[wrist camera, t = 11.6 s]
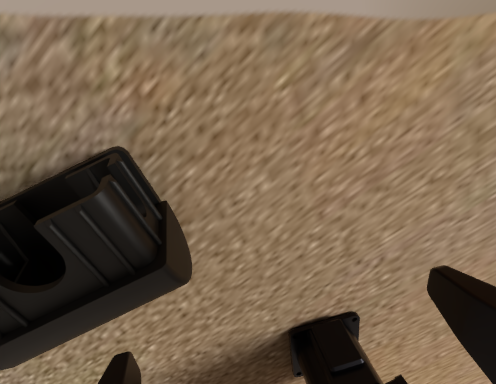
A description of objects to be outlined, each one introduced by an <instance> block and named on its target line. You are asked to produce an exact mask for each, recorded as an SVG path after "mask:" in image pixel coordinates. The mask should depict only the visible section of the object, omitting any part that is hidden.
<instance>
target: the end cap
mask: <svg viewBox="0 0 496 384" xmlns="http://www.w3.org/2000/svg"><path fill="white" fill-rule="evenodd" d="M191 275H192V261H191V255H190V251H189V248H188V245H187V241H186V239H185V236H184V233H183V231H182V229H181V227H180V224H179V222H178V220H177V218H176V216H175V214H174V213H173V211H172V209H171V207H170V206H169V204H168V203H167V201H162V202H161V200H160V199H159V197H158V195H157V194H156V192H155V191H154V189H153V188H152V186H151V185H150V183H149V182H148V180H147V179H146V178H145V176H144V175H143V173H142V172H141V170H140V169H139V167H138V166H137V164H136V163H135V161H134V160H133V158H132V157H131V155H130V154H129V152H128V151H127V150H126V149H124V148H122V147H119V146H117V147H112V148H110V149H108V150H106V151H104V152H102V153H100V154H98V155H96V156H94V157H92V158H90V159H88V160H86V161H84V162H82V163H80V164H77V165H75V166H73V167H71V168H69V169H67V170H65V171H63V172H61V173H59V174H57V175H55V176H53V177H51V178H49V179H47V180H45V181H43V182H40V183H38V184H36V185H34V186H32V187H30V188H28V189H26V190H24V191H22V192H20V193H18V194H16V195H14V196H12V197H10V198H8V199H5V200H3V201H1V202H0V370H4V369H9V368H13V367H15V366H17V365H19V364H21V363H23V362H26V361H28V360H30V359H32V358H34V357H36V356H38V355H40V354H42V353H44V352H46V351H48V350H50V349H53V348H55V347H57V346H59V345H61V344H63V343H65V342H67V341H69V340H71V339H73V338H75V337H77V336H79V335H82V334H84V333H86V332H88V331H90V330H92V329H94V328H96V327H98V326H100V325H102V324H104V323H106V322H109V321H111V320H113V319H115V318H117V317H119V316H121V315H123V314H125V313H127V312H129V311H131V310H133V309H135V308H138V307H140V306H142V305H144V304H146V303H148V302H150V301H152V300H154V299H156V298H158V297H160V296H162V295H164V294H167V293H169V292H171V291H173V290H175V289H177V288H179V287H181V286H183V285H185V284H187V283H188V282H189V280H190V278H191Z"/></svg>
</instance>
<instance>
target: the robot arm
mask: <svg viewBox="0 0 496 384" xmlns="http://www.w3.org/2000/svg"><path fill="white" fill-rule="evenodd" d="M427 291H428V294H429V296H430V297H431V299H432V300H433V302H434V304H435V305H436V307H437V308H438V310H439V311H440V313H441V314H442V316H443V317H444V319H445V320H446V322H447V324H448V325H449V327H450V328H451V330H452V331H453V333H454V334H455V336H456V337H457V339H458V340H459V341H460V343H461V344H462V345H463V347H464V348H465V349H466V351H467V352H468V353H469V354H470V356H471V357H472V358H473V359H474V361H475V362H476V363H477V365H478V366H479V367H480V368H481V370H482V371H483V372H484V373H485V375H486V376H487V377H488V378H489V380H490V381H491V382H492V384H496V287H495V286H493V285H491V284H488V283H486V282H483V281H481V280H479V279H476V278H474V277H472V276H469V275H467V274H465V273H462V272H460V271H458V270H455V269H453V268H451V267H448V266H445V265H443V266H438V267H435V268H432V269H431V270H430V274H429V279H428V284H427ZM359 321H360V317H359V316H358V314H357V313H356V312H352V313H349V314H345V315H342V316H338V317H335V318H331V319H328V320H324V321H321V322H317V323H313V324H310V325H306V326H303V327H299V328H296V329H293V330H291V331H290V332H289V341H290V351H291V361H292V371H293V374H294V376H295V377H300V376H304V379H305V381H306V384H383V382H382V381H381V379H380V377H379V376H378V374H377V372H376V371H375V369H374V367H373V366H372V364H371V362H370V361H369V359H368V357H367V355H366V354H365V352H364V350H363V349H362V347H361V345H360V344H359V342H358V338H359ZM394 378H395V379H394V380H391V381H389V382H387V383H385V384H407V382H406V381H405V380H404V378H403V377H402V375H401V374H400V375H398V376H396V377H394ZM98 384H141V373H140V369H139V367H138V365H137V363H136V361H135V358H134V356H133V354H132V353H131V352H124V353H121V354H117V355H115V356H114V357H113V359H112V360H111V362H110V364H109V365H108V367H107V369H106V370H105V372H104V374H103V376H102V377H101V379H100V381H99V382H98Z"/></svg>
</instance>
